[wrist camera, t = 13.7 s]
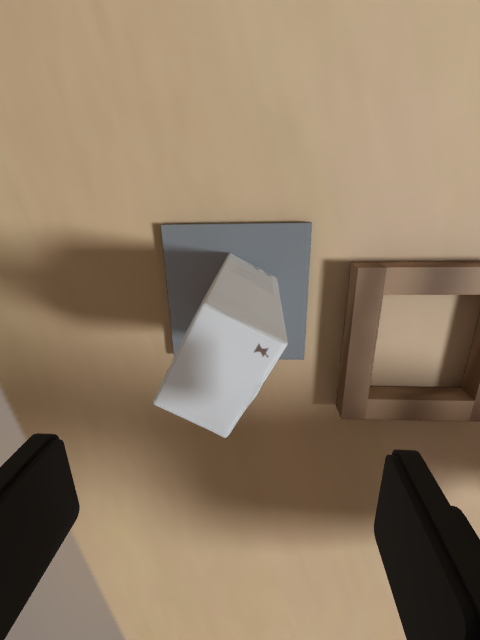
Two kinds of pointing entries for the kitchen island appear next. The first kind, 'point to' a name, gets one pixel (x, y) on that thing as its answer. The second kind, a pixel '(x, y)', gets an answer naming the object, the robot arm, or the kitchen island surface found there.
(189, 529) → the kitchen island surface
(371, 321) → the pocket holder
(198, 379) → the skincare box
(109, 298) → the kitchen island surface
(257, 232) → the slate mat
